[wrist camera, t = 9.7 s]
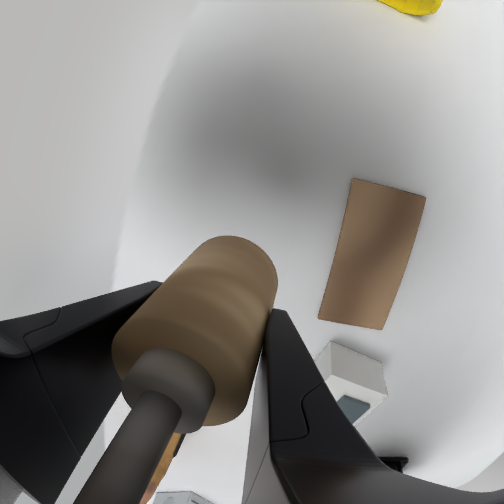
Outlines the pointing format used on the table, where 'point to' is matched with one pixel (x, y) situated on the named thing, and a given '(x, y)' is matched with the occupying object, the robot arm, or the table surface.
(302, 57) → the table surface
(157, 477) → the ammunition clip
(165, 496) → the skincare box
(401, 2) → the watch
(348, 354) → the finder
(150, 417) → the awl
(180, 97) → the table surface
